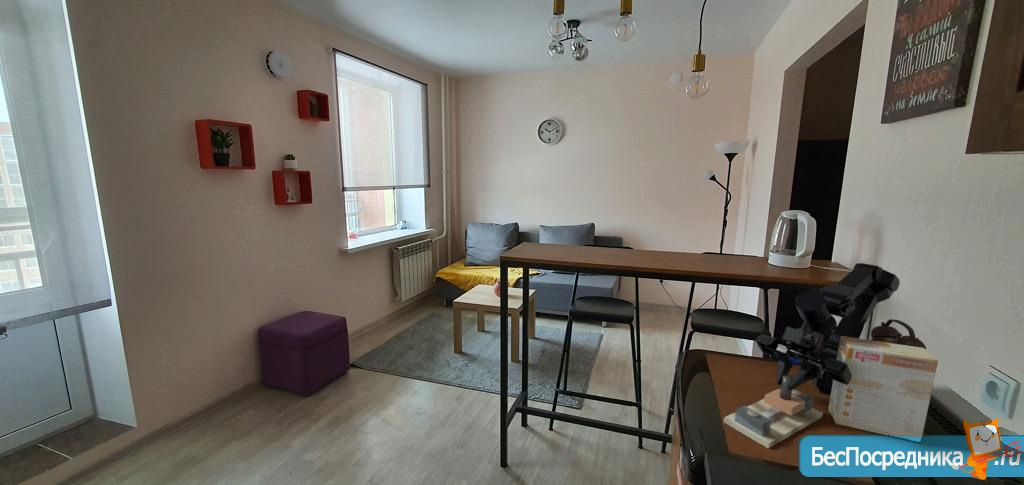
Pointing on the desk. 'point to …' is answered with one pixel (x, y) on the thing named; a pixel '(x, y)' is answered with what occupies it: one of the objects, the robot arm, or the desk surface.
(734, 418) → the rail track
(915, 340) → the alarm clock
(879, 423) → the coffeecake box
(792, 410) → the carriage
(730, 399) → the desk surface
